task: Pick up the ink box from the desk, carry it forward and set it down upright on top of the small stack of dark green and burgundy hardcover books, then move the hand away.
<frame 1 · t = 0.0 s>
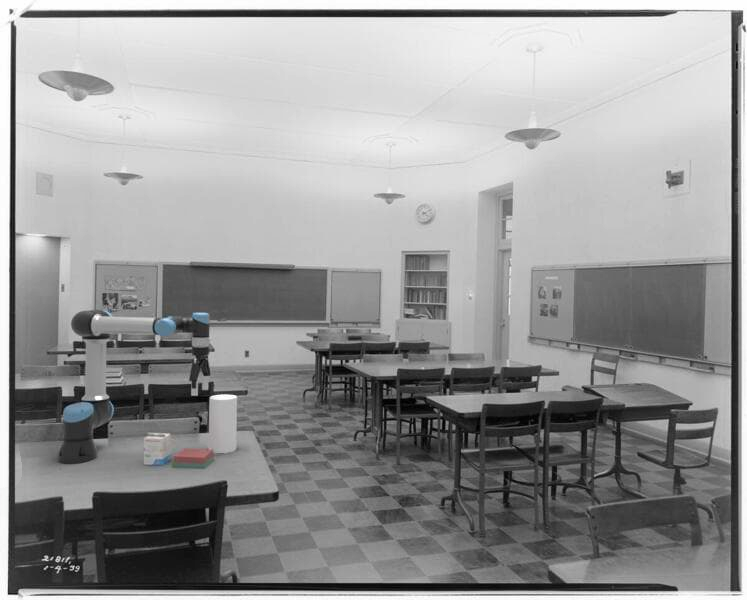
hand: (199, 392, 254), 28 cm above the table, tool pointing down, fingers open, 13 cm apart
ink box: (157, 462, 241), on the table
cylinder: (222, 450, 261), on the table
book stack: (193, 464, 240), on the table
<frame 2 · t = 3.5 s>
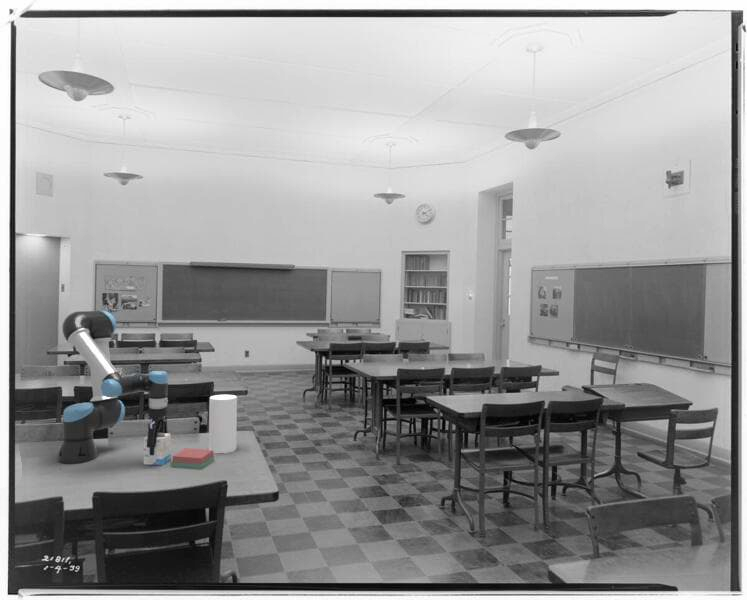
hand: (157, 458, 240), 1 cm above the table, tool pointing down, fingers closed on ink box, 8 cm apart
ink box: (157, 462, 240), on the table, touching gripper
when the fingers open (8 cm above the table, at t = 9.4 s): ink box drops 2 cm, resting on book stack.
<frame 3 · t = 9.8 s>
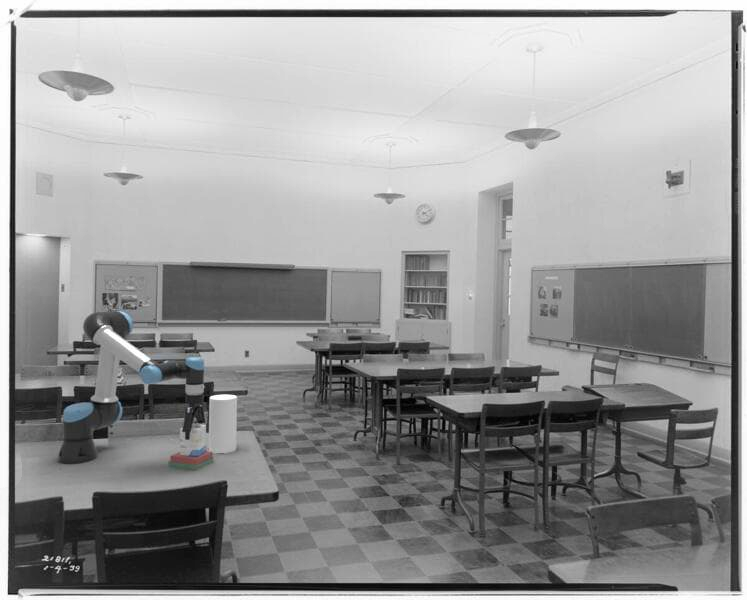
hand: (193, 442, 240), 9 cm above the table, tool pointing down, fingers open, 13 cm apart
ink box: (193, 453, 240), point 4 cm above the table, touching book stack
book stack: (191, 465, 239), on the table, touching ink box
everything else where it was.
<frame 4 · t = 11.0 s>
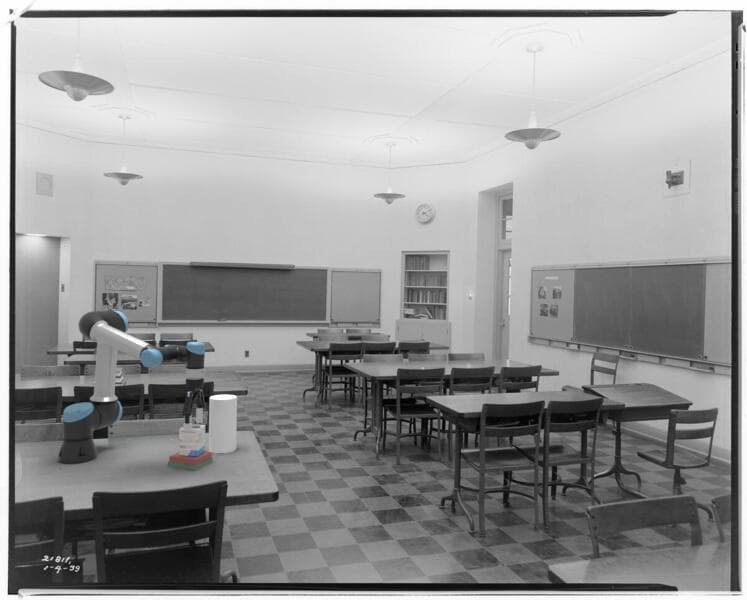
hand: (193, 426, 240), 16 cm above the table, tool pointing down, fingers open, 13 cm apart
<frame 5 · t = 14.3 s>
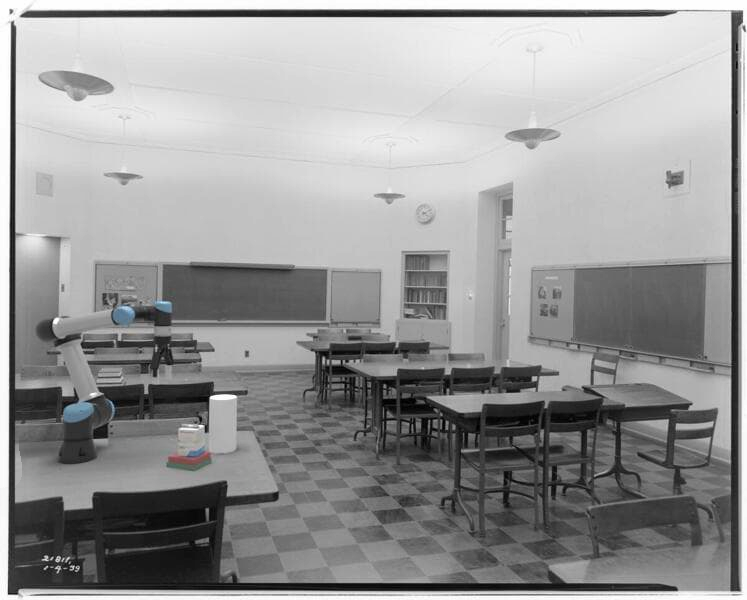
hand: (162, 381, 253), 33 cm above the table, tool pointing down, fingers open, 13 cm apart
at the end: ink box inside the target area on the book stack (1.0 cm from its centre), point 4.9 cm above the book stack's base; ink box tilted 1°; the gripper is holding nothing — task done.
